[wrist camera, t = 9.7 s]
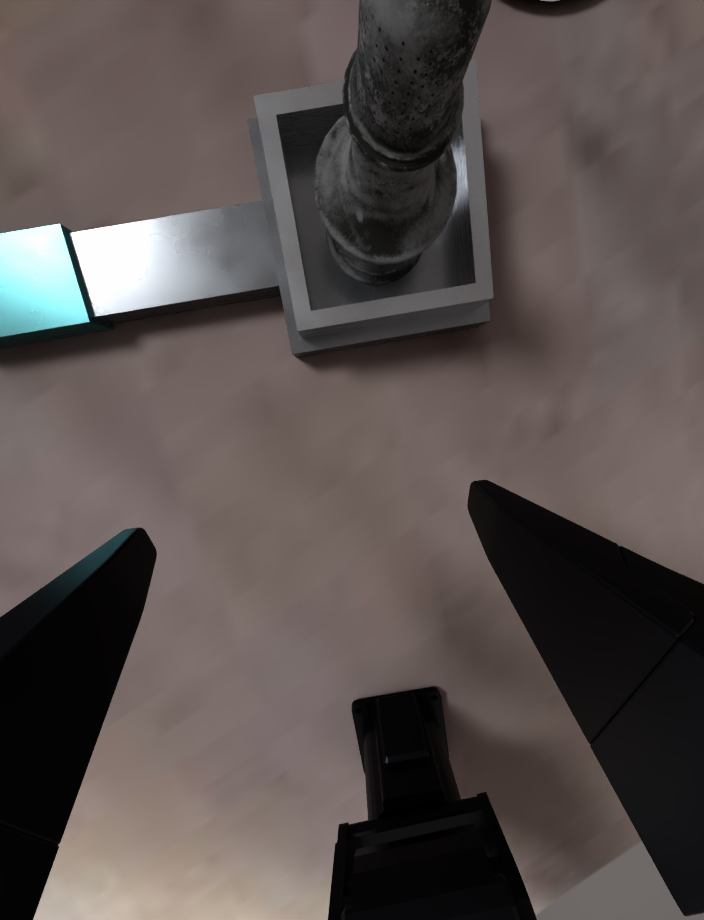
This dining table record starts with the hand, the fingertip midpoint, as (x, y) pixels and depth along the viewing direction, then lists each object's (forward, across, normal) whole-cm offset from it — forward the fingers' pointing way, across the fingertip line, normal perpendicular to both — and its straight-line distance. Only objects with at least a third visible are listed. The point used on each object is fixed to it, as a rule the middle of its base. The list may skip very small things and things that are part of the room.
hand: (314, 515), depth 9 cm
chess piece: (+13, -4, -7) cm, 16 cm away
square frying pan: (+15, +4, -6) cm, 17 cm away
